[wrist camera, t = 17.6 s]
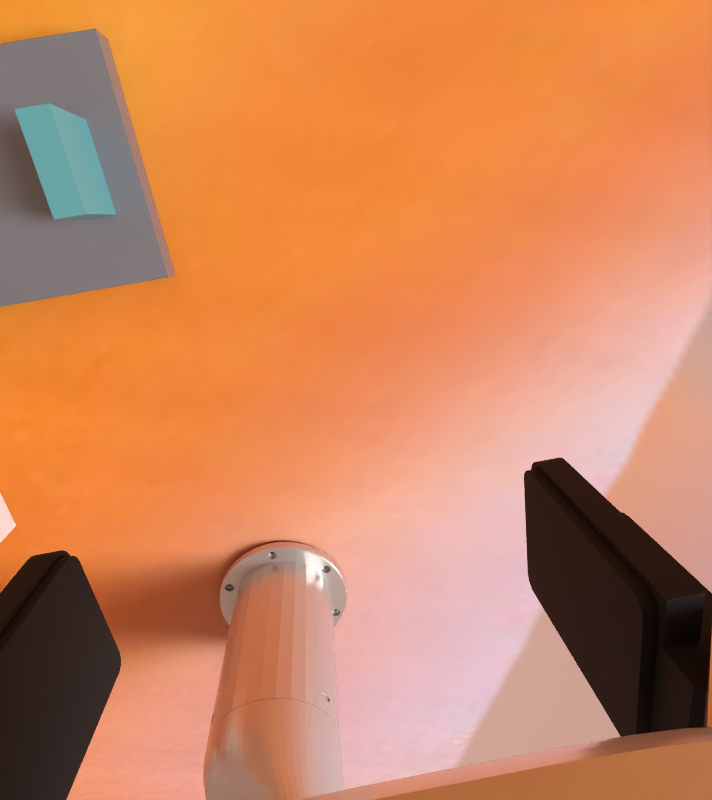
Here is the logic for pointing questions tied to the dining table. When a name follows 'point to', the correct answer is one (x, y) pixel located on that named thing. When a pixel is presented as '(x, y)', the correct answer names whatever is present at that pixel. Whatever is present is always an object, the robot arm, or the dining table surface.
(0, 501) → the tub
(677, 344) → the dining table surface
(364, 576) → the dining table surface
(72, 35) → the lid
